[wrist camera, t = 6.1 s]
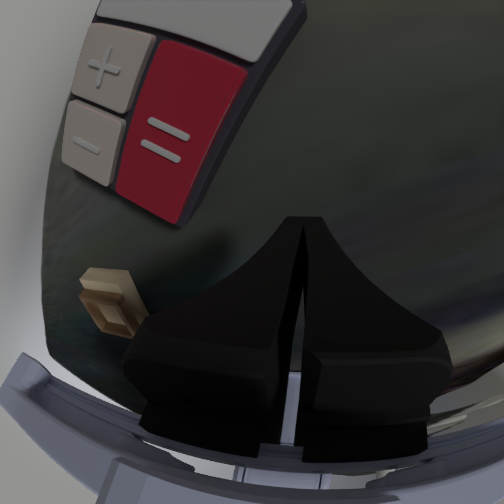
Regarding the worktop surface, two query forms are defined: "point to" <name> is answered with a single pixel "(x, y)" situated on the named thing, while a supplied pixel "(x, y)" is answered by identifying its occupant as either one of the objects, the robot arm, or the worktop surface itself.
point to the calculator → (170, 93)
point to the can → (382, 473)
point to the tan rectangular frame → (113, 301)
